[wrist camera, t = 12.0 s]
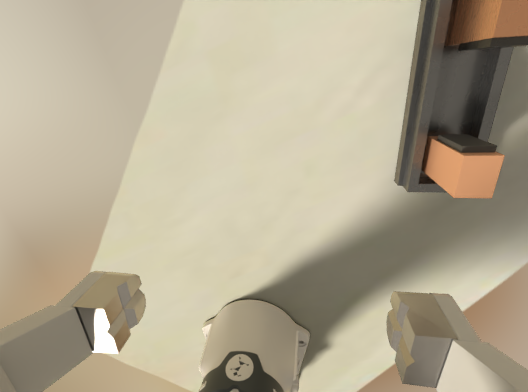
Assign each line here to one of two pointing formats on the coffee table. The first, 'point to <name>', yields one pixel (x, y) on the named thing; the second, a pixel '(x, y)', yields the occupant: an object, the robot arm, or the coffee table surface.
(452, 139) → the orange block
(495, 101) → the dark grey tray
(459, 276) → the coffee table surface
